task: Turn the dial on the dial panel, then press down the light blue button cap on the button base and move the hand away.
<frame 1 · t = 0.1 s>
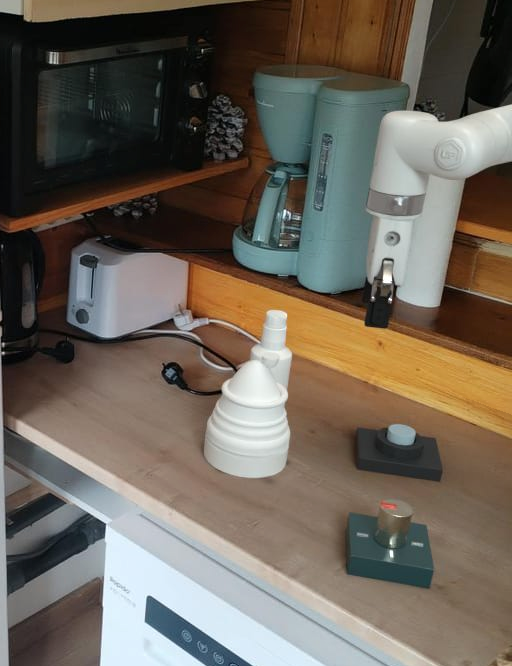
hand: (374, 314, 135), 24 cm above the counter, tool pointing down, fingers open, 9 cm apart
light blue button cap: (401, 435, 141), point 4 cm above the counter, slide at 0.1 cm
spray bottle: (263, 410, 158), on the counter
dial panel: (385, 558, 120), on the counter
honey pot: (244, 457, 143), on the counter
button base: (395, 459, 143), on the counter
dial: (393, 522, 118), point 6 cm above the counter, hinge at 0.0°
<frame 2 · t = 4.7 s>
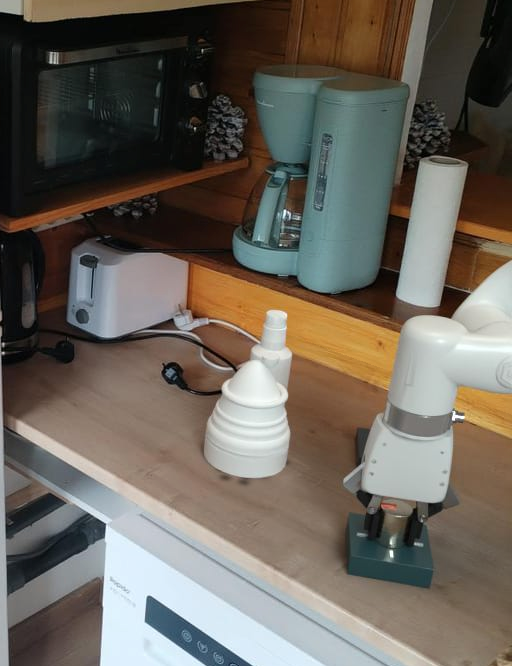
hand: (390, 536, 119), 4 cm above the counter, tool pointing down, fingers closed on dial, 4 cm apart
dial: (393, 522, 118), point 6 cm above the counter, hinge at -0.1°, touching gripper
everything else where it was.
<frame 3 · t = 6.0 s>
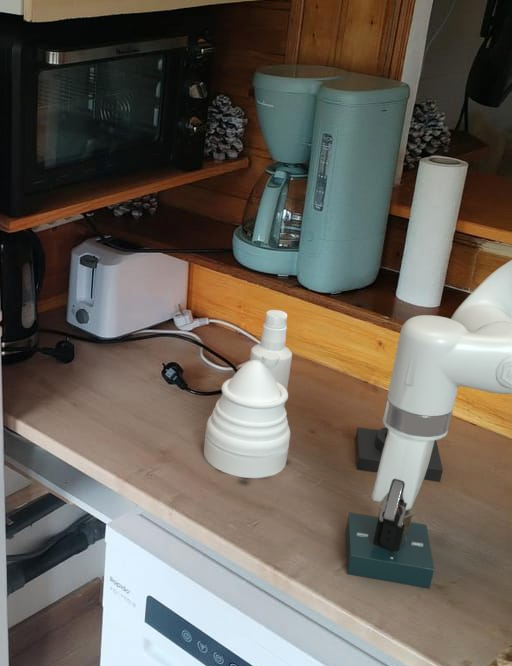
hand: (390, 536, 119), 4 cm above the counter, tool pointing down, fingers closed on dial, 4 cm apart
dial: (393, 522, 118), point 6 cm above the counter, hinge at 74.7°, touching gripper
everything else where it was.
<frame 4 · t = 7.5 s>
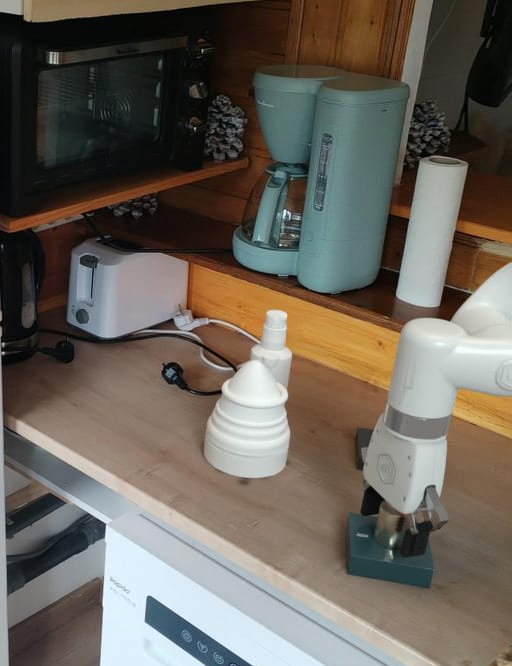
hand: (391, 533, 118), 4 cm above the counter, tool pointing down, fingers open, 8 cm apart
dial: (393, 522, 118), point 6 cm above the counter, hinge at 118.6°
everything else where it was.
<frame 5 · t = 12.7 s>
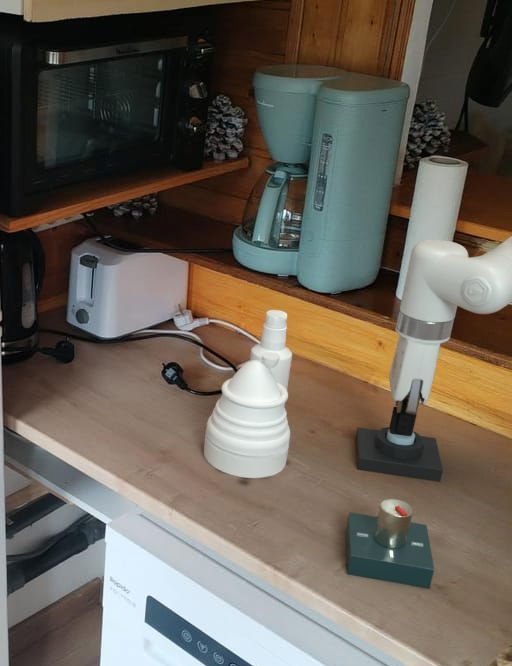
hand: (400, 432, 141), 5 cm above the counter, tool pointing down, fingers closed
light blue button cap: (400, 438, 141), point 4 cm above the counter, slide at -0.5 cm, touching gripper
everything else where it was.
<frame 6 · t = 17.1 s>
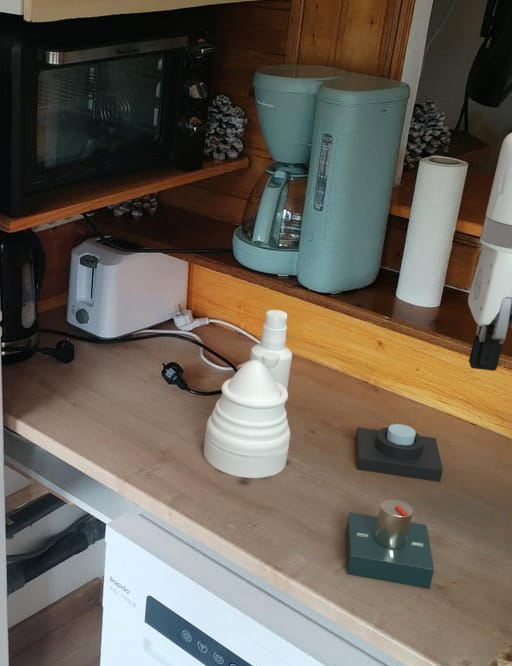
hand: (482, 366, 120), 23 cm above the counter, tool pointing down, fingers closed
light blue button cap: (401, 435, 141), point 4 cm above the counter, slide at 0.1 cm
everything else where it was.
at the end: dial at +119° (first picture: +0°); light blue button cap pushed in 1.1 cm at the most during the clip, back to where it started at the end; light blue button cap slide at 0.1 cm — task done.
